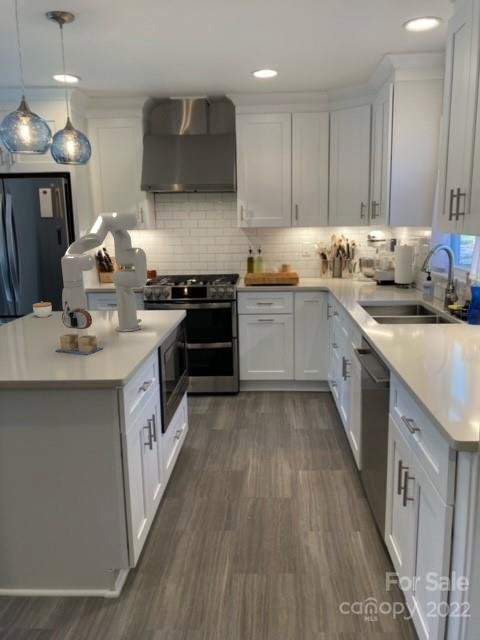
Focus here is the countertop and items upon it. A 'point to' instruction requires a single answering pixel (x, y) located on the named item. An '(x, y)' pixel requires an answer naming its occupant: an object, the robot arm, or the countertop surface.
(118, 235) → the robot arm
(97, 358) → the countertop surface
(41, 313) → the lidded jar
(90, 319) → the tin
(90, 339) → the bridge base
